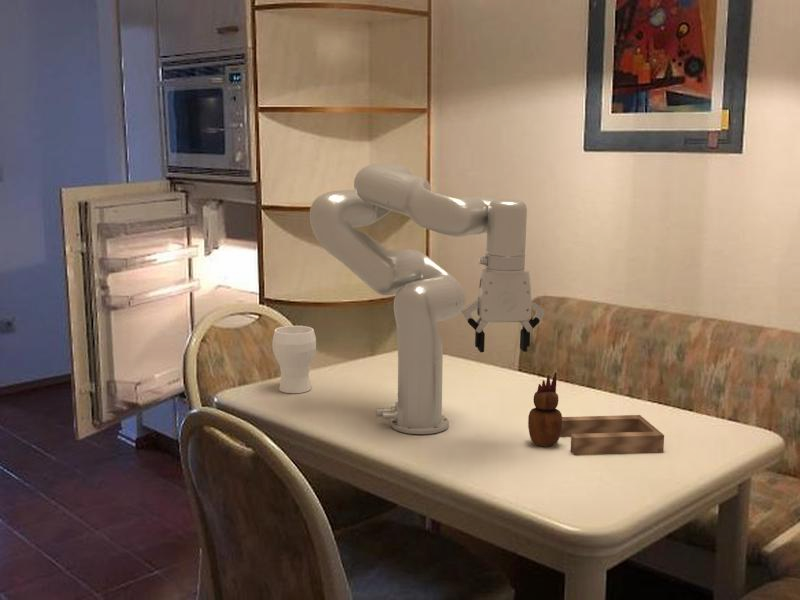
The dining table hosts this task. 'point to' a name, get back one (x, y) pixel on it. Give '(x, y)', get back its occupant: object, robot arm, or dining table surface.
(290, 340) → the cup
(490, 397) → the dining table surface
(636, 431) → the u rest
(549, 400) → the wooden figurine
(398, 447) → the dining table surface
